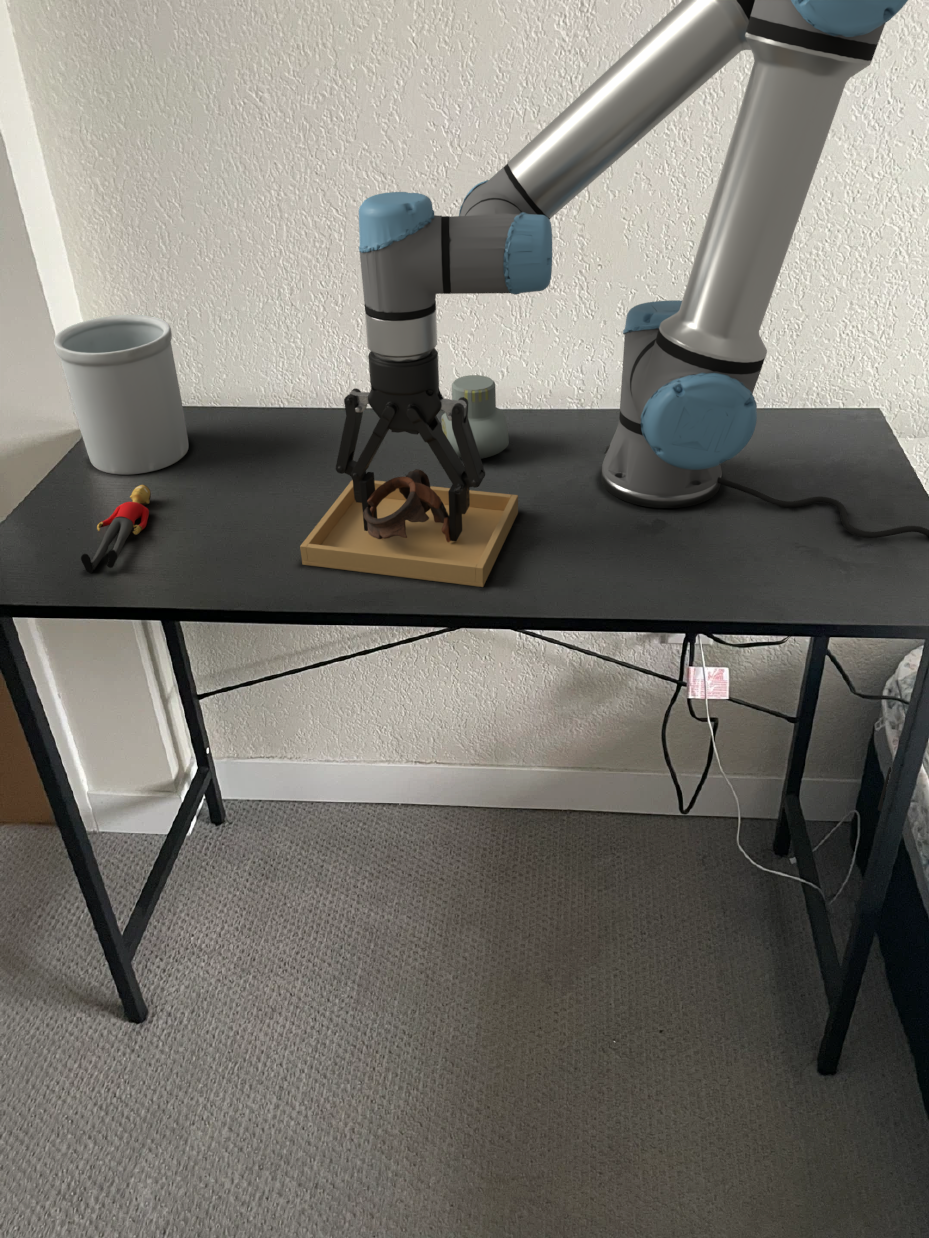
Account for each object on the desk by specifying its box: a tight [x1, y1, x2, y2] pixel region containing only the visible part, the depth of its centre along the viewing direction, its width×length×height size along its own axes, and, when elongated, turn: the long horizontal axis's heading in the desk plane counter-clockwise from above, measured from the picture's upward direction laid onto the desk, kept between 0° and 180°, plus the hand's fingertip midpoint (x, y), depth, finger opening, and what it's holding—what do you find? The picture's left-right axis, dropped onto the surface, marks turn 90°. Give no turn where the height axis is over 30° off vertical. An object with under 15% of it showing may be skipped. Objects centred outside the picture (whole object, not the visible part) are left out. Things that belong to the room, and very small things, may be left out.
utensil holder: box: [53, 314, 189, 476], centre depth 139 cm, size 15×15×18 cm
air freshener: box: [441, 374, 510, 460], centre depth 139 cm, size 11×8×10 cm
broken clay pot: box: [363, 468, 450, 542], centre depth 121 cm, size 12×10×8 cm
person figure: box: [80, 484, 152, 574], centre depth 124 cm, size 5×4×18 cm
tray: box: [299, 479, 519, 588], centre depth 122 cm, size 22×18×2 cm
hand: (413, 530), depth 122 cm, fingers closed on broken clay pot, 10 cm apart
